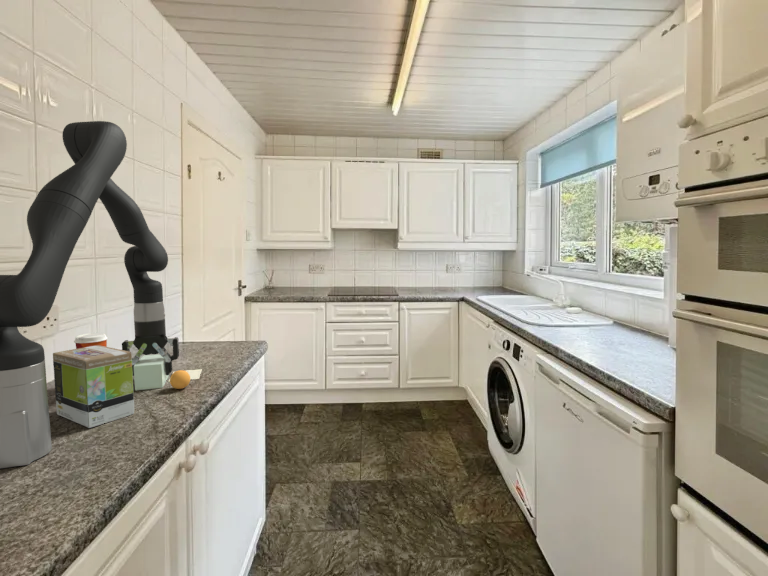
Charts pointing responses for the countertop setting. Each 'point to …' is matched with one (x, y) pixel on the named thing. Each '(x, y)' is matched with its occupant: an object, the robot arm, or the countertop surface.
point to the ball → (180, 379)
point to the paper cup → (91, 340)
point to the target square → (193, 374)
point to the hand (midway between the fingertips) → (152, 375)
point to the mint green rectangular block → (150, 372)
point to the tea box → (93, 384)
